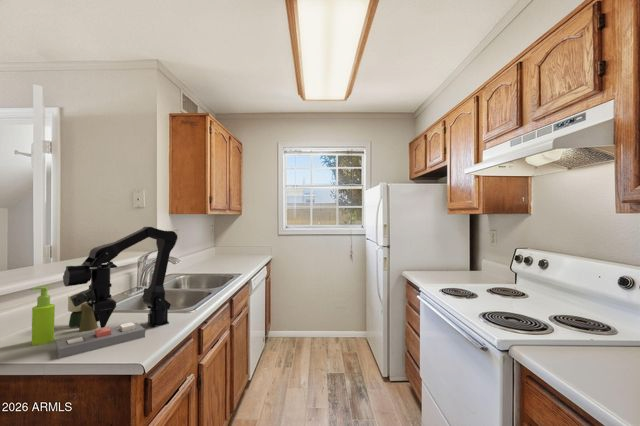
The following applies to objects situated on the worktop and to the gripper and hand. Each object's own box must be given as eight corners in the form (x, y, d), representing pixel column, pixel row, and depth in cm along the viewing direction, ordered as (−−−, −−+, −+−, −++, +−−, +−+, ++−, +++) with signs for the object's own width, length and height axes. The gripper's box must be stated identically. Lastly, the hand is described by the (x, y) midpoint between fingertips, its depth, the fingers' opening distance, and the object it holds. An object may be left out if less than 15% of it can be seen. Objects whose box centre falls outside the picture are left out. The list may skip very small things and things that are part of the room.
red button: (108, 335, 108) (108, 327, 108) (110, 338, 105) (110, 330, 105) (94, 338, 105) (94, 330, 105) (96, 342, 102) (96, 333, 103)
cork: (87, 333, 116) (87, 304, 116) (74, 332, 117) (75, 304, 117) (101, 328, 122) (102, 300, 122) (89, 327, 123) (89, 300, 123)
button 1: (81, 345, 103) (82, 337, 103) (83, 349, 100) (84, 340, 100) (66, 349, 100) (66, 340, 100) (68, 353, 97) (68, 343, 97)
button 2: (132, 330, 114) (132, 322, 114) (135, 332, 111) (135, 324, 111) (119, 333, 111) (119, 324, 111) (122, 335, 108) (122, 327, 108)
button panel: (137, 331, 117) (137, 322, 117) (144, 338, 110) (145, 329, 110) (55, 350, 100) (56, 340, 100) (59, 360, 93) (59, 349, 93)
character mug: (92, 326, 123) (93, 294, 124) (70, 331, 118) (71, 298, 118) (85, 320, 130) (86, 290, 131) (64, 325, 125) (65, 294, 125)
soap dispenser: (37, 340, 109) (39, 285, 110) (58, 339, 110) (59, 285, 110) (23, 347, 103) (24, 289, 104) (44, 346, 104) (46, 288, 104)
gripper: (68, 281, 110) (68, 323, 110) (76, 289, 97) (75, 337, 97) (105, 276, 118) (104, 316, 118) (116, 283, 105) (116, 328, 105)
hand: (100, 324), depth 109 cm, fingers open, 9 cm apart
